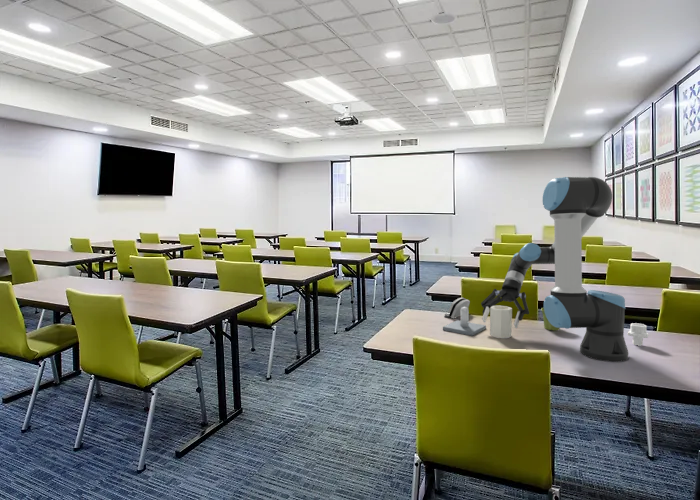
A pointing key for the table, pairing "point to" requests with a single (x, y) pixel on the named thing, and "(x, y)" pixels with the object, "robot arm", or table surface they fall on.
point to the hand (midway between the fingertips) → (499, 323)
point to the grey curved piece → (457, 307)
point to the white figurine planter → (638, 333)
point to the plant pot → (548, 323)
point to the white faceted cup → (500, 321)
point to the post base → (465, 329)
